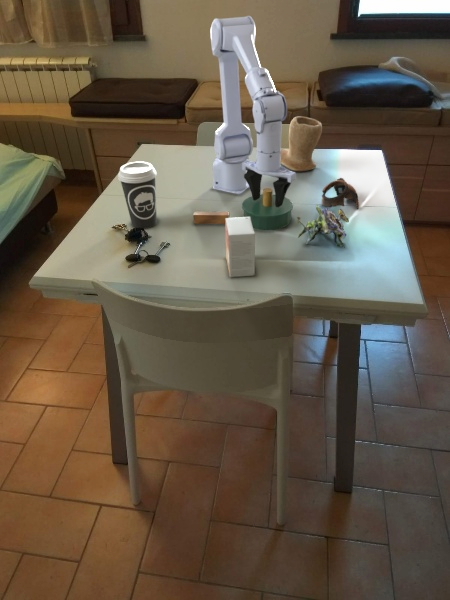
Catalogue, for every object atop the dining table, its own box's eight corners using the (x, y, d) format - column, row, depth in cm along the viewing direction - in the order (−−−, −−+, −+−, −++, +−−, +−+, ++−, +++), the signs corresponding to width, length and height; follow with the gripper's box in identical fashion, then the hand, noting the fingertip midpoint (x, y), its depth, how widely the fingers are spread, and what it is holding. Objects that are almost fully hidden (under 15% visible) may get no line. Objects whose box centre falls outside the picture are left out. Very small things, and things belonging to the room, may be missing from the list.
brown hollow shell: (363, 215, 126) (353, 193, 121) (329, 227, 130) (318, 206, 125) (358, 186, 134) (348, 164, 128) (326, 199, 138) (315, 178, 132)
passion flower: (335, 264, 117) (358, 242, 106) (293, 261, 115) (311, 238, 103) (331, 222, 120) (352, 197, 109) (290, 219, 118) (307, 193, 107)
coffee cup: (168, 216, 128) (162, 162, 119) (152, 233, 121) (145, 176, 112) (136, 212, 131) (128, 158, 122) (119, 228, 124) (109, 172, 115)
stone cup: (325, 170, 151) (330, 121, 142) (292, 176, 148) (295, 127, 139) (301, 155, 163) (304, 109, 154) (270, 161, 159) (271, 114, 150)
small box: (226, 258, 110) (224, 217, 104) (250, 257, 110) (250, 215, 104) (229, 278, 104) (227, 234, 97) (254, 276, 104) (255, 233, 98)
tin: (235, 225, 123) (234, 210, 121) (257, 206, 132) (257, 193, 129) (277, 235, 118) (278, 221, 116) (298, 216, 126) (299, 202, 124)
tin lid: (233, 204, 125) (233, 185, 122) (276, 194, 130) (277, 176, 127) (256, 224, 116) (257, 205, 113) (302, 213, 120) (304, 194, 117)
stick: (194, 224, 124) (193, 215, 122) (195, 221, 126) (194, 211, 124) (228, 225, 123) (228, 215, 122) (229, 221, 125) (229, 211, 123)
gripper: (303, 150, 112) (300, 203, 120) (254, 139, 120) (253, 190, 128) (287, 159, 108) (284, 214, 116) (236, 147, 116) (237, 199, 124)
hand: (267, 202), depth 122 cm, fingers open, 6 cm apart
